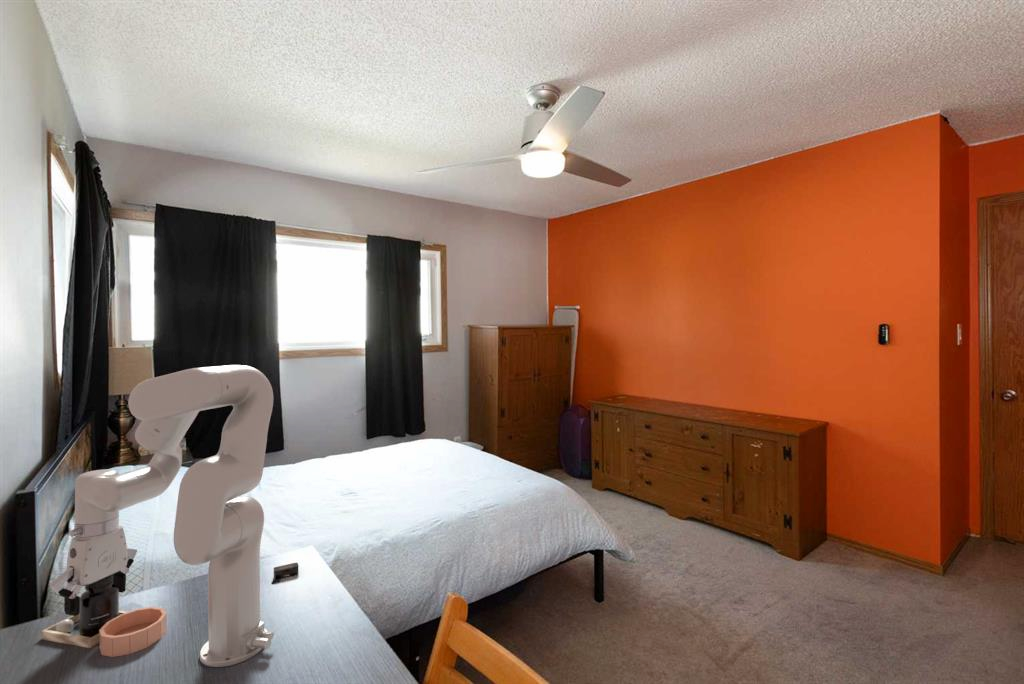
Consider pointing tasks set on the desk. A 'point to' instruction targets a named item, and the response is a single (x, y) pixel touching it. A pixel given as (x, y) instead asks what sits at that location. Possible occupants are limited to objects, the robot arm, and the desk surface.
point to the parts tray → (70, 635)
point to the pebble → (64, 626)
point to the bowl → (132, 631)
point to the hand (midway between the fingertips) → (96, 602)
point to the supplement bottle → (98, 606)
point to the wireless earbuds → (285, 571)
